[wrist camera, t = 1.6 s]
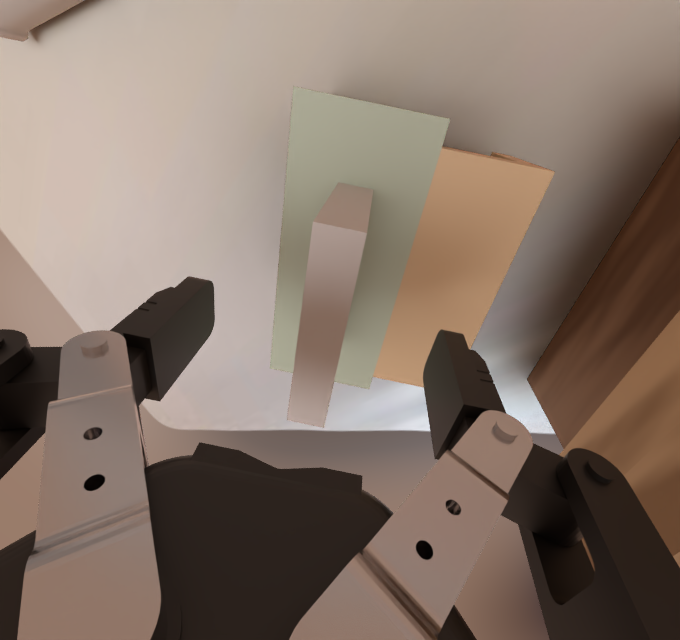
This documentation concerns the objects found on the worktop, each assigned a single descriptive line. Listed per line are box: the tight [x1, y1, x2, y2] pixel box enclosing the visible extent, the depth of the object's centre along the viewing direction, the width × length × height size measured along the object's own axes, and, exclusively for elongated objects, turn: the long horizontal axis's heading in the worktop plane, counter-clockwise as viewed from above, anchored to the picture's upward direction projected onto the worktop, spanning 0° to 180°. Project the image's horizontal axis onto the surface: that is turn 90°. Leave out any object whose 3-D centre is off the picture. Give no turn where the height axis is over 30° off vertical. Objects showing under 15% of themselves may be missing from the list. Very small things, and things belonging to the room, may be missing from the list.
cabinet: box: [270, 86, 555, 428], centre depth 18 cm, size 10×14×16 cm
